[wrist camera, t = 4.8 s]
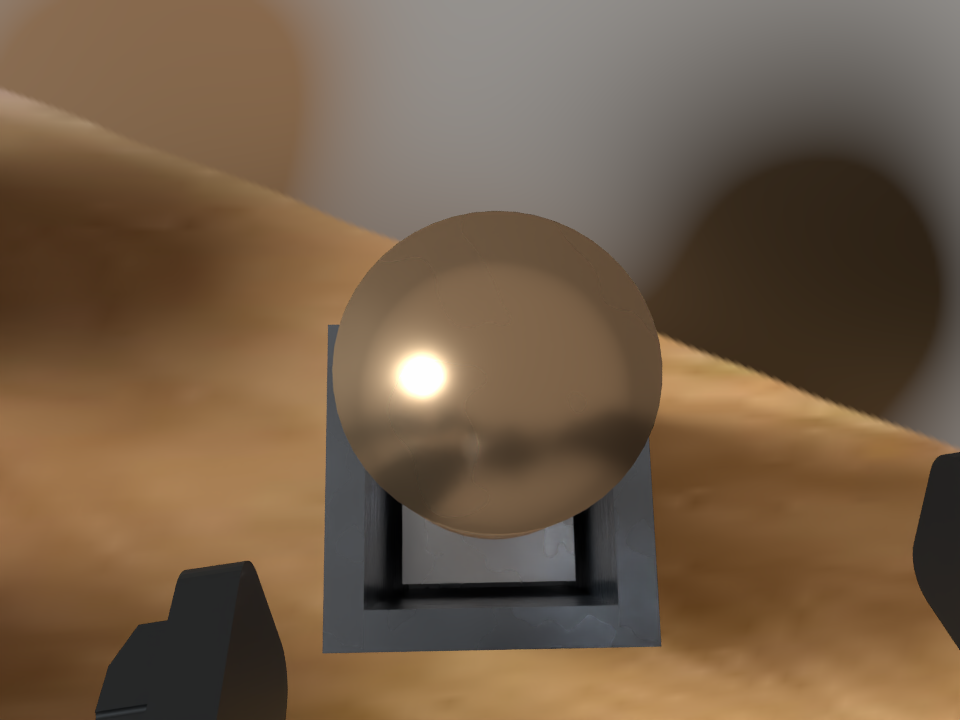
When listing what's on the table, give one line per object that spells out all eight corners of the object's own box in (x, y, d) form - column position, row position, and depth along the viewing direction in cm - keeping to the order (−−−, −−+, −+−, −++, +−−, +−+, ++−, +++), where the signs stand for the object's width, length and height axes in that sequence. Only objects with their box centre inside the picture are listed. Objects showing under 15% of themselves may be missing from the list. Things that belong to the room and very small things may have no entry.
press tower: (386, 613, 44) (322, 653, 26) (387, 411, 46) (328, 324, 29) (589, 609, 44) (661, 646, 26) (581, 408, 46) (642, 318, 29)
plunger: (404, 583, 35) (212, 657, 10) (404, 416, 36) (235, 121, 12) (573, 580, 35) (794, 645, 10) (566, 413, 36) (746, 111, 12)
